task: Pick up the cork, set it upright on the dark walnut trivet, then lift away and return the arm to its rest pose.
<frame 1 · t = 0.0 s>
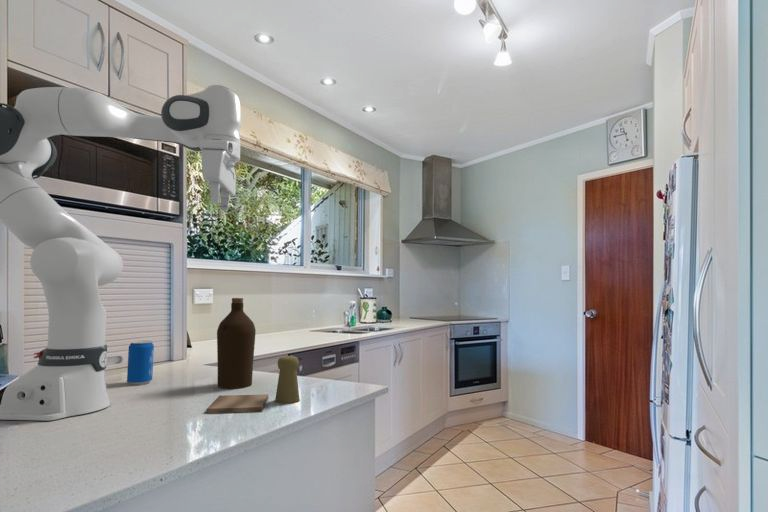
hand: (219, 207, 109), 48 cm above the counter, fingers open, 8 cm apart
walnut trivet: (239, 405, 105), on the counter
olive oil: (235, 386, 126), on the counter
beverage can: (139, 383, 128), on the counter
cork: (287, 401, 109), on the counter
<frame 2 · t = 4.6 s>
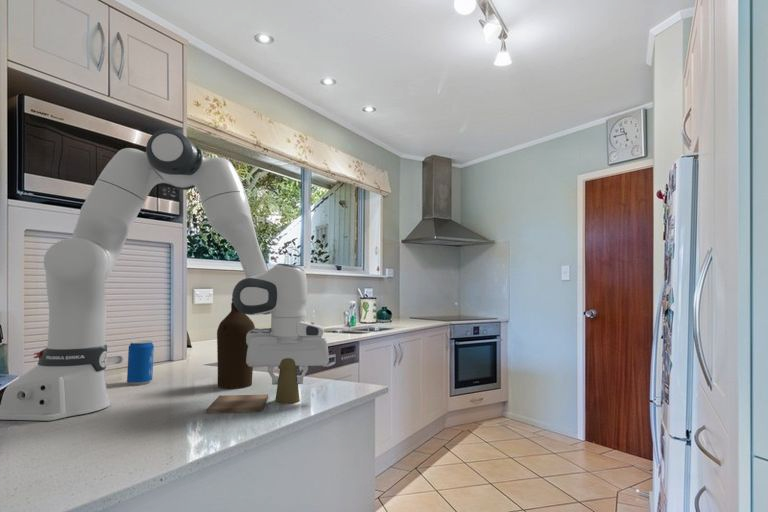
hand: (287, 383, 110), 4 cm above the counter, fingers closed on cork, 5 cm apart
cork: (287, 401, 109), on the counter, touching gripper
everything else where it was.
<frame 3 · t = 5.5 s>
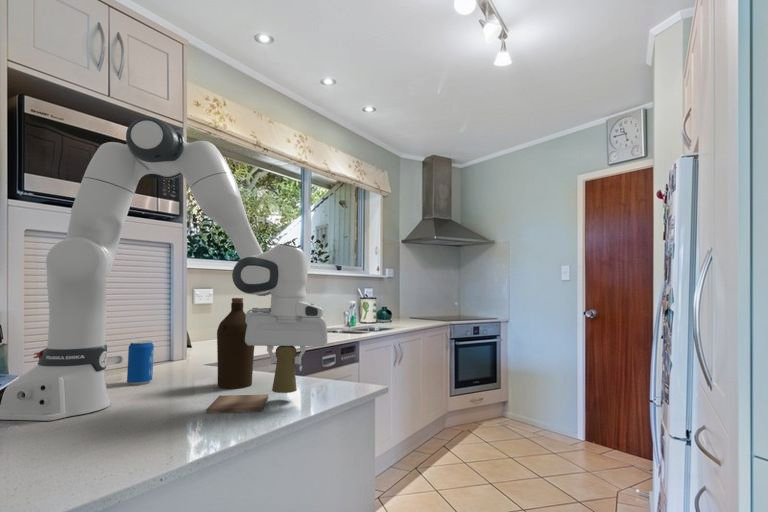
hand: (286, 364, 110), 9 cm above the counter, fingers closed on cork, 4 cm apart
cork: (284, 391, 109), point 2 cm above the counter, touching gripper
everything else where it was.
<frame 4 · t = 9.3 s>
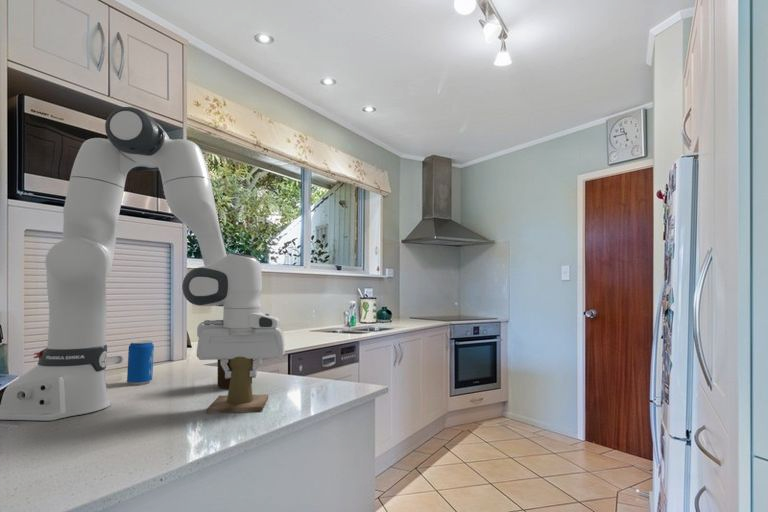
hand: (241, 377, 106), 6 cm above the counter, fingers closed on cork, 4 cm apart
cork: (239, 401, 105), point 1 cm above the counter, touching gripper, walnut trivet
everything else where it was.
when the fingers open (6 cm above the counter, at t = 10.2 s): cork stays where it is, resting on walnut trivet.
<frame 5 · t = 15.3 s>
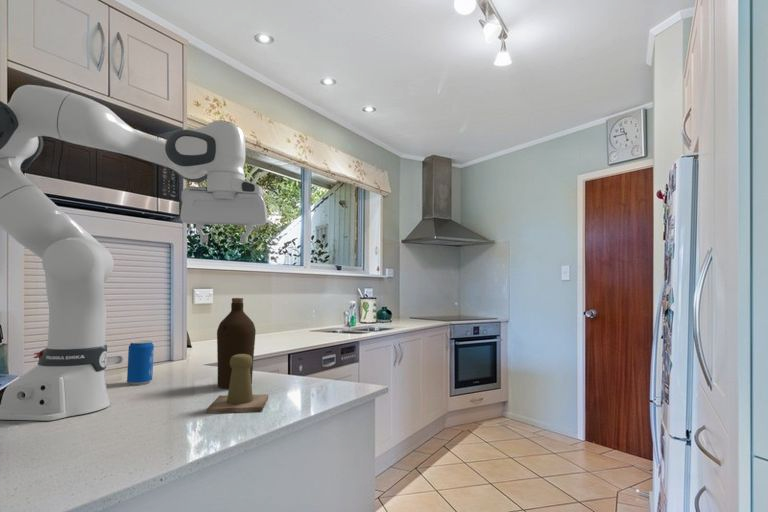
hand: (224, 242, 108), 39 cm above the counter, fingers open, 8 cm apart
cork: (239, 401, 105), point 1 cm above the counter, touching walnut trivet
everything else where it was.
at the end: cork inside the target area (0.1 cm from its centre), point 0.8 cm above the counter; cork tilted 0°; the gripper is holding nothing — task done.
